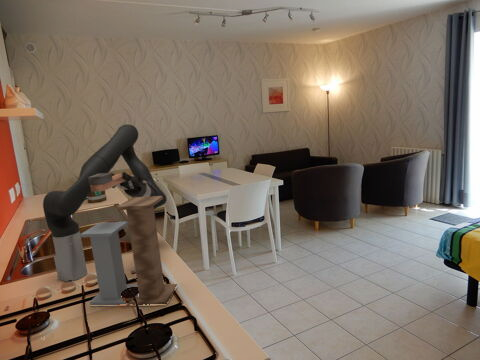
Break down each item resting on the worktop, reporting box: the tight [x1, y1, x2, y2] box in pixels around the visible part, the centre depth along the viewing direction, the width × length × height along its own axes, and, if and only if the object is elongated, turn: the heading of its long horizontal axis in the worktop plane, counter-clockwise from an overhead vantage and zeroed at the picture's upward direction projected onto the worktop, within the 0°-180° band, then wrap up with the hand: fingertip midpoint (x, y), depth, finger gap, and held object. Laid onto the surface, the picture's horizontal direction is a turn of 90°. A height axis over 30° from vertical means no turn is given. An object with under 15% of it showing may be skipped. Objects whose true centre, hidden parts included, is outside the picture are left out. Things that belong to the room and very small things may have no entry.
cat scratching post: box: [116, 196, 178, 305], centre depth 109 cm, size 12×11×32 cm
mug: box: [85, 190, 107, 204], centre depth 253 cm, size 20×14×15 cm
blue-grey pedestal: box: [80, 220, 138, 306], centre depth 112 cm, size 12×11×24 cm
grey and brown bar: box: [88, 172, 131, 192], centre depth 115 cm, size 4×19×4 cm, turn 173°
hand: (116, 175), depth 119 cm, fingers closed on grey and brown bar, 4 cm apart
